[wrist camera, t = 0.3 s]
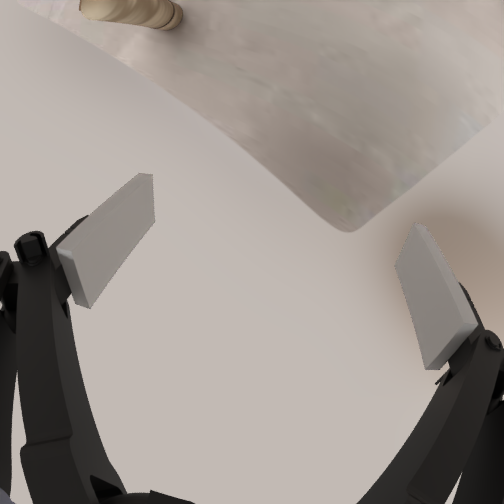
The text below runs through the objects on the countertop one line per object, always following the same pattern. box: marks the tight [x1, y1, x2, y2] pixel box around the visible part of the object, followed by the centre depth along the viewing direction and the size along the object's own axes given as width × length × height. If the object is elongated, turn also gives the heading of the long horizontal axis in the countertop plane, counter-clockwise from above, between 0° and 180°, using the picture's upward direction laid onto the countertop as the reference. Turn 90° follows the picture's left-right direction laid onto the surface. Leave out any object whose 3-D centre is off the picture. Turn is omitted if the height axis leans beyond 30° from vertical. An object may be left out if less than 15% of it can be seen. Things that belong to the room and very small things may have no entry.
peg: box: [81, 0, 183, 30], centre depth 22 cm, size 4×4×16 cm
